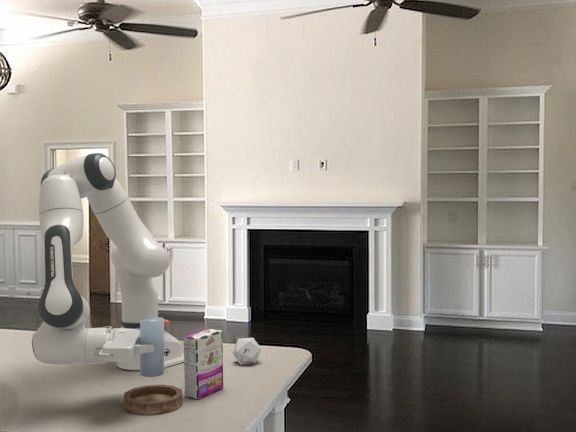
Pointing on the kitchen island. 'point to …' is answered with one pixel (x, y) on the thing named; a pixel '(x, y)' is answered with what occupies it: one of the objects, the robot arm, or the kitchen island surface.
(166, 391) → the tray
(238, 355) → the die
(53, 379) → the kitchen island surface
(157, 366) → the pale blue cylinder
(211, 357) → the candy bar box
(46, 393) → the kitchen island surface
